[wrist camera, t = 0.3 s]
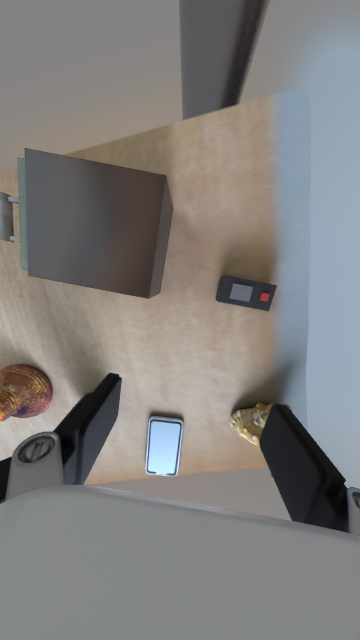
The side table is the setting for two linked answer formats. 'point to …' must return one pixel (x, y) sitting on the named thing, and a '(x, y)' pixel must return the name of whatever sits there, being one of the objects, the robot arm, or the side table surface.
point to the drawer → (3, 215)
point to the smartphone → (163, 445)
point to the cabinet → (96, 224)
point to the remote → (245, 293)
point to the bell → (23, 392)
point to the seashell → (251, 421)
